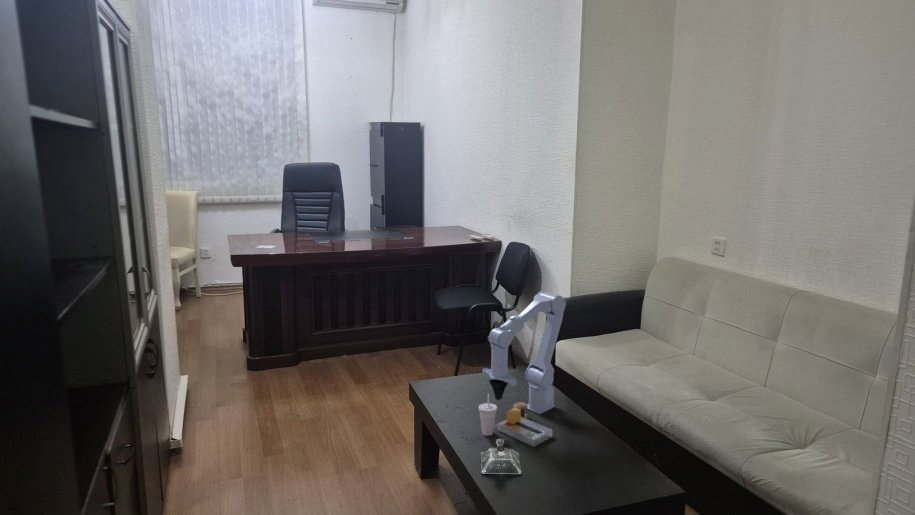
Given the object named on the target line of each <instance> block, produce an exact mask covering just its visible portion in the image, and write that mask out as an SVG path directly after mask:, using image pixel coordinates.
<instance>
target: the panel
mask: <svg viewBox="0 0 915 515" xmlns="http://www.w3.org/2000/svg"><path fill="white" fill-rule="evenodd" d="M497 431H498V432H500V433H503V434H504V435H507V436H509V437H511V438H513V439H516V440H518V441H520V442H521V443H524V444H526V445H528V446H530V447H533V448H535V447H536V446H538V445H540V444H542V443H544V442H546V441H547V440H549V439H551V438H553V429H552V428H549V427H547V426H545V425H542V424H540V423H537V422H535V421H534V420H530V419H529V418H527V419H526V418H524V417H521V421H519V422H517V423H515V424H511V423H509V422H507V418H506V419H505V420H502V421H500V422H497Z"/></svg>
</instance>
